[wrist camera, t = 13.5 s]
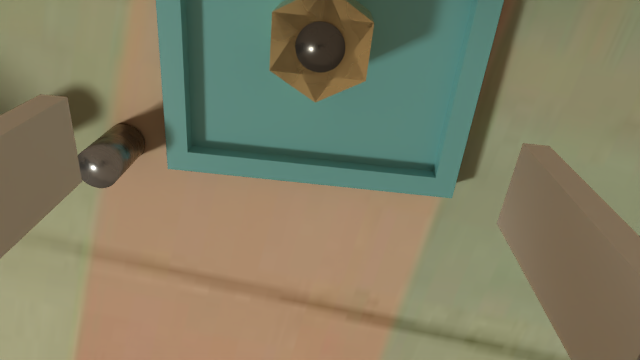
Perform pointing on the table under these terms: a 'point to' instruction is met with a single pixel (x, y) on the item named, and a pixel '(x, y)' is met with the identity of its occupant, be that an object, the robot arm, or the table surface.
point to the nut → (321, 45)
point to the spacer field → (110, 155)
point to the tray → (332, 112)
